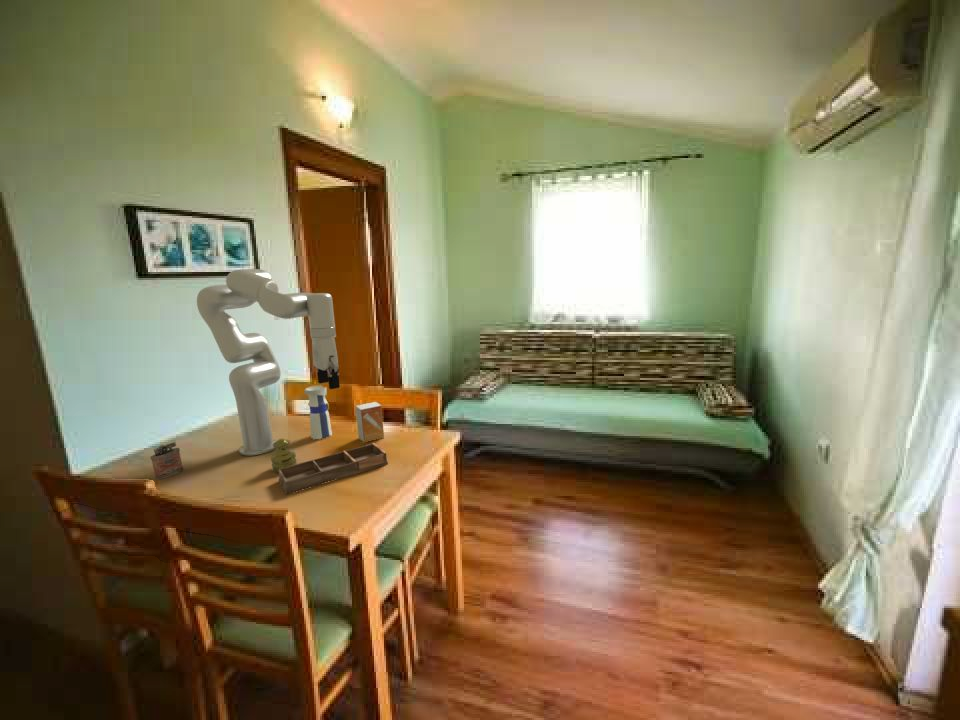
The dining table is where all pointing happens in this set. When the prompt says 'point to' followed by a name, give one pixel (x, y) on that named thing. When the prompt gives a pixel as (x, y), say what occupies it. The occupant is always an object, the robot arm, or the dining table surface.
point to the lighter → (166, 461)
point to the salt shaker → (282, 455)
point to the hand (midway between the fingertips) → (328, 385)
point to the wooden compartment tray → (331, 467)
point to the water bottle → (318, 412)
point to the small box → (369, 421)
